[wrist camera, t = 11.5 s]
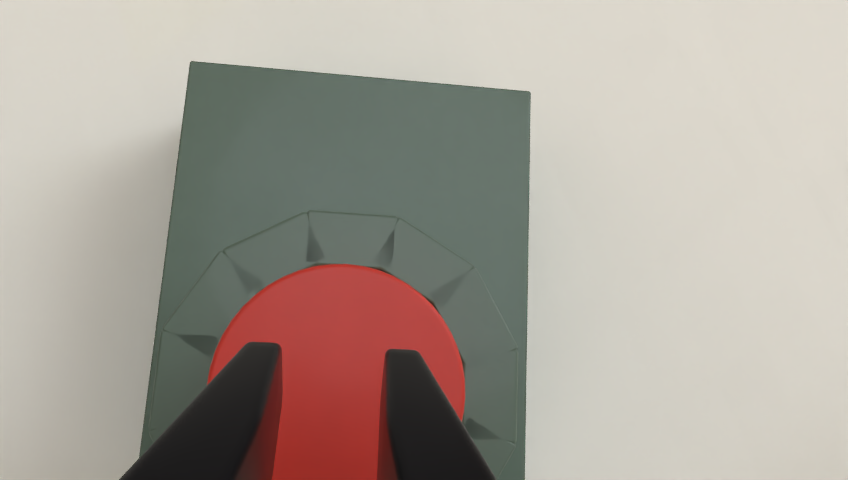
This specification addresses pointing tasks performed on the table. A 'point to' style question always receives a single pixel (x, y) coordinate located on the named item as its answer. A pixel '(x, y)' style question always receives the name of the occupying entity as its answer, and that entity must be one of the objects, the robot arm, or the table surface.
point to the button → (339, 362)
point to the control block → (351, 221)
